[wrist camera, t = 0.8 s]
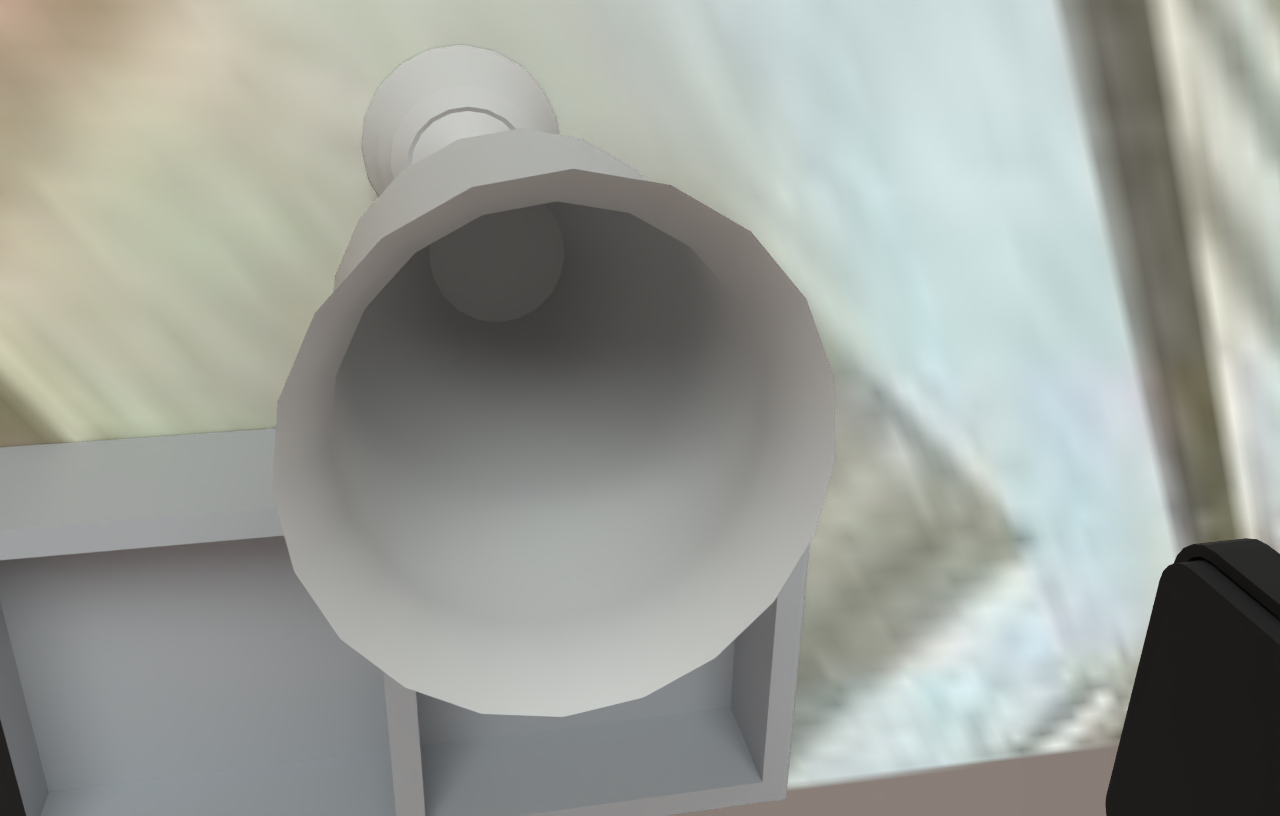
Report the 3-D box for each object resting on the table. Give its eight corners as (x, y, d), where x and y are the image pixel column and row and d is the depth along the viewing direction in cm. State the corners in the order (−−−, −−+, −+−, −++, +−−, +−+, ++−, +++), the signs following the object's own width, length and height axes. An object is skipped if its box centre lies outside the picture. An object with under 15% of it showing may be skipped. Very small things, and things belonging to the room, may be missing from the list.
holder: (765, 393, 35) (816, 462, 31) (744, 705, 40) (785, 799, 36) (-56, 451, 30) (-121, 540, 26) (33, 792, 35) (-10, 910, 31)
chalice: (590, 280, 32) (806, 691, 16) (336, 286, 31) (297, 744, 15) (597, 1, 29) (871, 167, 13) (315, -7, 28) (238, 170, 12)
